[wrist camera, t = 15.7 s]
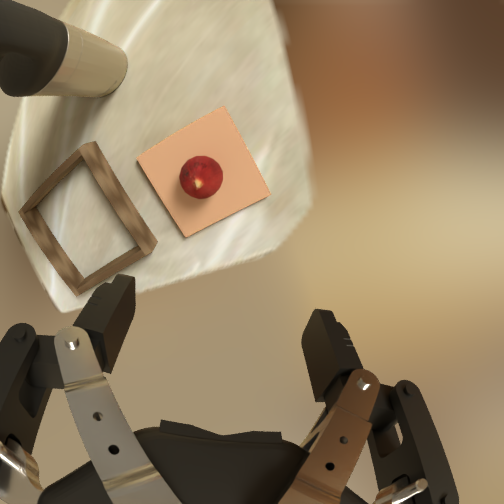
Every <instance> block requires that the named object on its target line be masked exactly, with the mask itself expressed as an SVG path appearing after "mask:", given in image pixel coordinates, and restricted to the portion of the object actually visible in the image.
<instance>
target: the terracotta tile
mask: <svg viewBox="0 0 504 504" xmlns="http://www.w3.org/2000/svg"><path fill="white" fill-rule="evenodd" d="M195 156H207V157H210V158H213V159H214V160H215V161H216V162H217V163H219V165H220V167H221V169H222V171H223V182H222V184H221V187H220V189H219V190H218V191H217V192H216V193H215V194H214V195H212V196H210V197H208V198H205V199H197V198H194V197H191V196H189V195H188V194H187V193H185V192H184V190H183V188H182V187H181V184H180V179H179V175H180V171H181V168H182V166H183V165H184V164H185V163H186V161H187V160H188V159H191V158H193V157H195ZM137 160H138V162H139V163H140V165H141V167H142V168H143V170H144V172H145V173H146V175H147V177H148V178H149V180H150V182H151V183H152V185H153V187H154V188H155V190H156V192H157V193H158V195H159V196H160V198H161V200H162V201H163V203H164V204H165V206H166V208H167V209H168V211H169V212H170V214H171V216H172V217H173V219H174V220H175V222H176V223H177V225H178V227H179V228H180V230H181V231H182V233H183V234H184V236H185V237H188V236H190V235H192V234H194V233H196V232H198V231H200V230H201V229H203V228H205V227H207V226H209V225H211V224H213V223H215V222H217V221H219V220H221V219H223V218H225V217H227V216H229V215H231V214H233V213H235V212H237V211H239V210H241V209H243V208H245V207H247V206H249V205H251V204H253V203H255V202H257V201H259V200H261V199H263V198H265V197H267V196H269V195H271V193H270V191H269V189H268V187H267V185H266V183H265V181H264V179H263V177H262V175H261V173H260V171H259V169H258V167H257V165H256V164H255V162H254V160H253V158H252V156H251V154H250V152H249V150H248V148H247V146H246V144H245V143H244V141H243V139H242V137H241V135H240V133H239V131H238V130H237V128H236V126H235V124H234V122H233V120H232V119H231V117H230V115H229V113H228V111H227V109H226V108H225V106H222V107H220V108H218V109H216V110H215V111H213V112H211V113H209V114H207V115H205V116H203V117H201V118H200V119H198V120H196V121H194V122H193V123H191V124H189V125H187V126H186V127H184V128H182V129H180V130H179V131H177V132H175V133H174V134H172V135H170V136H169V137H167V138H166V139H164V140H162V141H161V142H159V143H158V144H156V145H155V146H153V147H151V148H150V149H148V150H147V151H145V152H144V153H142V154H141V155H140V156H138V157H137Z"/></svg>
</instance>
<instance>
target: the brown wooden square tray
mask: <svg viewBox="0 0 504 504" xmlns="http://www.w3.org/2000/svg"><path fill="white" fill-rule="evenodd" d="M83 160H85V161H86V163H87V165H88V167H89V168H90V170H91V172H92V174H93V175H94V177H95V179H96V180H97V182H98V184H99V185H100V187H101V189H102V190H103V192H104V194H105V195H106V197H107V198H108V200H109V202H110V203H111V205H112V206H113V208H114V209H115V211H116V213H117V214H118V216H119V217H120V219H121V220H122V222H123V223H124V225H125V226H126V228H127V229H128V231H129V232H130V234H131V235H132V237H133V238H134V240H135V241H136V242H137V244H138V246H136V247H134V248H133V249H131V250H129V251H128V252H126V253H124V254H123V255H121V256H119V257H118V258H116V259H115V260H113V261H111V262H110V263H108V264H107V265H105V266H103V267H102V268H100V269H99V270H97V271H96V272H94V273H92V274H91V275H89V276H88V277H86V278H85V279H84V278H83V276H82V275H81V274H80V272H79V271H78V270H77V268H76V267H75V266H74V264H73V263H72V262H71V260H70V259H69V257H68V256H67V254H66V253H65V252H64V250H63V249H62V247H61V246H60V244H59V243H58V241H57V240H56V238H55V237H54V235H53V234H52V232H51V231H50V229H49V228H48V226H47V224H46V223H45V221H44V219H43V218H42V216H41V215H40V213H39V211H38V209H37V208H36V206H37V204H38V203H39V202H40V201H41V200H42V199H43V198H44V197H45V196H46V195H47V194H48V193H49V192H50V191H51V190H52V189H53V188H54V187H55V186H56V185H57V184H58V183H59V182H60V181H61V180H62V179H63V178H64V177H65V176H66V175H67V174H68V173H69V172H70V171H72V170H73V169H74V168H75V167H76V166H77V165H78V164H79V163H80V162H82V161H83ZM19 214H20V216H21V217H22V219H23V221H24V223H25V224H26V226H27V228H28V229H29V231H30V232H31V234H32V236H33V237H34V239H35V240H36V242H37V243H38V245H39V247H40V248H41V250H42V251H43V252H44V254H45V255H46V257H47V258H48V260H49V261H50V263H51V264H52V265H53V267H54V268H55V270H56V271H57V272H58V274H59V275H60V276H61V278H62V279H63V280H64V282H65V283H66V284H67V285H68V287H69V288H70V289H71V291H72V292H73V293H74V294H75V296H76V297H77V296H78V295H80V294H81V293H83V292H85V291H86V290H88V289H90V288H91V287H93V286H95V285H96V284H98V283H100V282H101V281H103V280H105V279H106V278H108V277H110V276H111V275H113V274H115V273H116V272H118V271H120V270H122V269H123V268H125V267H127V266H128V265H130V264H132V263H134V262H135V261H137V260H139V259H141V258H143V257H144V256H146V255H148V254H150V253H151V252H152V251H153V249H154V247H155V246H156V244H157V242H158V241H157V240H156V238H155V237H154V235H153V234H152V232H151V231H150V229H149V228H148V226H147V225H146V223H145V222H144V220H143V219H142V217H141V216H140V214H139V213H138V211H137V209H136V208H135V206H134V205H133V203H132V202H131V200H130V198H129V197H128V195H127V194H126V192H125V190H124V189H123V187H122V186H121V184H120V182H119V181H118V179H117V177H116V176H115V174H114V172H113V171H112V169H111V167H110V165H109V164H108V162H107V160H106V159H105V157H104V155H103V153H102V152H101V150H100V148H99V146H98V144H97V143H96V141H94V142H90V143H86V144H83V145H82V146H81V147H80V148H79V149H77V150H76V151H75V152H74V153H73V154H72V155H71V156H70V157H69V158H68V159H67V160H66V161H65V162H64V163H63V164H61V165H60V166H59V167H58V168H57V169H56V170H55V171H54V172H53V173H52V174H51V176H50V177H49V178H48V179H47V180H46V181H45V182H44V183H43V184H42V185H41V186H40V187H39V188H38V189H37V191H36V192H35V193H34V194H33V195H32V196H31V197H30V198H29V200H28V201H27V202H26V203H25V204H24V206H23V207H22V208H21V209H20V210H19Z"/></svg>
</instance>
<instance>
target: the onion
mask: <svg viewBox="0 0 504 504" xmlns="http://www.w3.org/2000/svg"><path fill="white" fill-rule="evenodd" d="M179 179H180V184H181V187H182V188H183V190H184V192H185V193H187V194H188V195H189V196H191V197H194V198H197V199H205V198H208V197H210V196H212V195H214V194H215V193H216V192H217V191H218V190H219V189H220V187H221V184H222V182H223V171H222V169H221V167H220V165H219V163H217V162H216V161H215V160H214V159H213V158H210V157H207V156H195V157H193V158H191V159H188V160H187V161H186V163H185V164H184V165H183V166H182V168H181V171H180V175H179Z"/></svg>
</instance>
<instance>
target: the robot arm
mask: <svg viewBox="0 0 504 504" xmlns="http://www.w3.org/2000/svg"><path fill="white" fill-rule="evenodd" d="M127 66H128V62H127V57H126V54H125V53H124V51H123V50H122V49H121V48H119V47H117V46H115V45H113V44H111V43H109V42H108V41H106V40H104V39H102V38H100V37H98V36H96V35H93V34H91V33H89V32H87V31H85V30H82V29H80V28H77V27H75V26H72V25H70V24H67V23H65V22H62V21H60V20H57V19H55V18H52V17H50V16H48V15H47V14H45V13H43V12H41V11H38V10H36V9H33V8H31V7H28V6H25V5H23V4H20V3H17V2H15V1H12V0H0V87H1V89H2V91H3V92H4V93H5V94H7V95H9V96H13V97H24V96H78V97H97V98H98V97H103V96H106V95H108V94H110V93H111V92H113V91H114V90H115V89H116V88H117V87H118V86H119V85H120V84H121V82H122V81H123V79H124V77H125V74H126V72H127ZM135 304H136V303H135V277H132V276H128V275H123V274H117V275H116V277H115V279H114V280H113V282H112V283H106V282H105V283H104V284H102V285H100V286H99V287H97V288H96V290H95V291H94V293H93V294H92V297H90V299H89V300H88V302H87V303H86V305H85V306H84V308H83V310H82V311H81V313H80V314H79V316H78V318H77V319H76V321H75V322H74V324H73V326H70V327H65V328H63V329H61V330H60V331H59V332H58V333H57V334H56V336H46V335H36V332H35V330H34V328H33V327H32V326H31V325H29V324H26V323H19V324H16V325H14V326H12V327H11V328H10V329H9V330H8V331H7V333H6V334H5V336H4V337H3V339H2V340H1V342H0V499H1V500H3V501H4V502H6V503H7V504H368V503H367V502H365V501H364V500H363V499H362V498H360V497H359V496H358V495H357V494H355V493H354V492H353V491H352V490H350V489H349V488H348V487H347V486H346V484H347V482H348V480H349V478H350V475H351V474H352V472H353V470H354V467H355V465H356V463H357V461H358V459H359V456H360V454H361V452H362V449H363V447H364V445H365V442H366V440H367V441H368V445H369V449H370V453H371V458H372V462H373V466H374V470H375V475H376V480H377V485H378V489H379V493H378V494H377V496H376V499H375V501H374V502H373V504H459V496H458V492H457V489H456V486H455V482H454V479H453V475H452V473H451V469H450V466H449V463H448V460H447V457H446V455H445V452H444V449H443V446H442V443H441V441H440V438H439V435H438V433H437V430H436V428H435V425H434V423H433V420H432V418H431V415H430V413H429V411H428V408H427V406H426V404H425V401H424V399H423V397H422V394H421V392H420V390H419V388H418V387H417V386H416V385H415V384H414V383H412V382H411V381H408V380H401V381H399V382H398V383H397V384H396V385H395V386H394V387H391V386H388V385H384V384H380V382H379V380H378V378H377V377H376V376H375V375H374V374H373V373H372V372H370V371H368V370H365V369H363V366H362V364H361V361H360V359H359V357H358V354H357V352H356V350H355V347H353V343H352V341H351V340H350V336H349V334H348V331H347V330H346V329H345V327H344V326H343V325H342V324H341V323H340V322H337V321H336V319H335V317H334V314H333V312H332V311H330V310H321V309H315V310H314V311H313V313H312V315H311V317H310V319H309V321H308V324H307V326H306V328H305V330H304V332H303V335H302V342H301V343H302V349H303V353H304V356H305V360H306V364H307V369H308V373H309V377H310V381H311V385H312V389H313V394H314V398H315V402H325V404H326V407H325V408H324V409H323V411H322V413H321V414H320V416H319V417H318V419H317V421H316V422H315V424H314V426H313V427H312V429H311V430H310V432H309V434H308V435H307V437H306V438H305V439H304V441H303V442H302V443H301V444H300V446H298V445H296V444H294V443H292V442H288V441H286V440H282V436H281V432H263V431H261V432H260V431H251V432H244V433H238V434H231V435H218V434H215V433H212V432H210V431H207V430H203V429H201V428H198V427H195V426H193V425H189V424H183V423H177V422H171V421H166V420H161V423H160V427H150V428H144V429H141V430H137V431H135V432H132V430H131V428H130V426H129V425H128V423H127V421H126V419H125V417H124V415H123V413H122V411H121V409H120V407H119V405H118V403H117V401H116V399H115V397H114V395H113V392H112V390H111V388H110V386H109V383H108V381H107V379H106V377H104V376H103V372H106V373H110V374H111V372H112V370H113V367H114V364H115V362H116V359H117V357H118V354H119V352H120V349H121V346H122V344H123V341H124V339H125V337H126V334H127V332H128V329H129V327H130V324H131V322H132V320H133V317H134V313H135V306H136V305H135ZM53 388H57V389H64V391H65V394H66V397H67V400H68V403H69V407H70V410H71V412H72V415H73V418H74V421H75V423H76V426H77V429H78V431H79V434H80V436H81V438H82V441H83V443H84V446H85V448H86V450H87V452H88V454H89V457H90V459H91V460H90V461H89V462H87V463H86V464H84V465H82V466H81V467H79V468H78V469H76V470H74V471H73V472H71V473H70V474H68V475H66V476H65V477H63V478H61V479H60V480H58V481H56V482H55V483H53V484H51V485H49V486H48V487H47V488H45V489H44V490H43V488H42V487H41V485H40V481H39V468H38V464H37V462H36V461H35V459H34V458H33V457H32V456H31V454H32V450H33V447H34V443H35V439H36V436H37V433H38V429H39V426H40V423H41V420H42V416H43V414H44V411H45V408H46V405H47V402H48V399H49V397H50V394H51V392H52V389H53ZM397 423H399V426H400V429H401V433H402V436H403V441H402V444H400V441H399V438H398V435H397V432H396V428H395V424H397Z"/></svg>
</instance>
